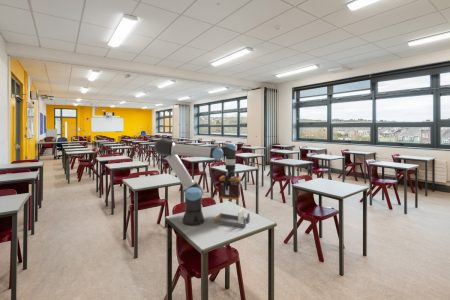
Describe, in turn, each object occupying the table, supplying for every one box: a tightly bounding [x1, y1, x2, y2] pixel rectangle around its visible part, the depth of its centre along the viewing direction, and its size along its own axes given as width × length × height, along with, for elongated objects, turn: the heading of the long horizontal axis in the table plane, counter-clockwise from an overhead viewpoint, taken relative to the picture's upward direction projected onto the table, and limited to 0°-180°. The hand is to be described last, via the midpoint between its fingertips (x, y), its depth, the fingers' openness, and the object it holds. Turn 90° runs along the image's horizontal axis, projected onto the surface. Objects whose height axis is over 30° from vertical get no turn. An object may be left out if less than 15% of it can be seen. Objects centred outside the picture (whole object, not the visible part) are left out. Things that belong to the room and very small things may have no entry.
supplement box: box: [218, 175, 242, 201], centre depth 186 cm, size 10×15×16 cm
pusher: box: [237, 207, 247, 223], centre depth 170 cm, size 4×11×9 cm, turn 158°
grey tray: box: [212, 212, 251, 229], centre depth 173 cm, size 23×13×6 cm, turn 68°
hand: (229, 192), depth 186 cm, fingers closed on supplement box, 11 cm apart
